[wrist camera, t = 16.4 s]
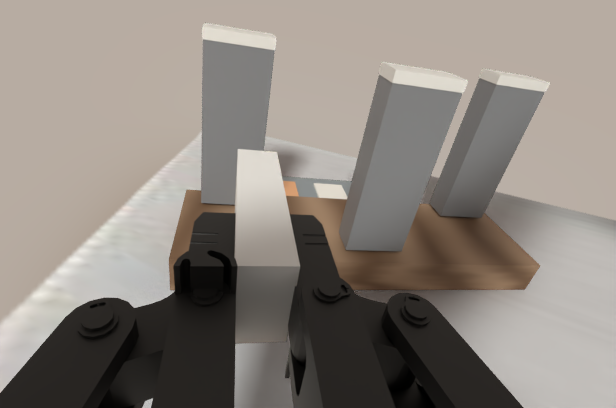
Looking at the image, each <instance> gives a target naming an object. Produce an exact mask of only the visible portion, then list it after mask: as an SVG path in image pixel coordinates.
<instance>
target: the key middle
mask: <svg viewBox="0 0 616 408" xmlns="http://www.w3.org/2000/svg"><path fill="white" fill-rule="evenodd" d="M467 83H468V80H466V79H463V78H461V77H459V76H456V75H454V74H452V73H449V72H445V71H438V70H432V69H426V68H419V67H413V66H406V65H400V64H394V63H388V62H381V66H380V70H379V78H378V81H377V85H376V89H375V93H374V97H373V101H372V105H371V109H370V113H369V117H368V121H367V124H366V128H365V132H364V136H363V140H362V143H361V147H360V151H359V155H358V159H357V163H356V167H355V171H354V174H353V178H352V182H351V186H350V190H349V194H348V198H347V202H346V205H345V209H344V213H343V217H342V221H341V225H340V229H339V234H340V237H341V239H342V242H343V244H344V247H345V249H346V250H364V251H402V249H403V246H404V244H405V241H406V239H407V236H408V233H409V231H410V228H411V226H412V223H413V220H414V218H415V215H416V213H417V210H418V207H419V205H420V202H421V200H422V197H423V194H424V192H425V189H426V187H427V184H428V181H429V179H430V176H431V174H432V171H433V168H434V166H435V163H436V160H437V158H438V155H439V152H440V150H441V148H442V145H443V142H444V140H445V137H446V135H447V132H448V129H449V126H450V124H451V121H452V119H453V116H454V114H455V111H456V109H457V106H458V103H459V101H460V98H461V96H462V93H464V91H465V88H466V85H467Z"/></svg>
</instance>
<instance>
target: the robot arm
mask: <svg viewBox="0 0 616 408" xmlns="http://www.w3.org/2000/svg"><path fill="white" fill-rule="evenodd" d="M328 244H329V243H328V240H327V237H326V234H325V231H324V228H323V225H322V224H321V223H320V221H319V220H318V219H317V218H316V217H315V216H314V215H297V214H289V209H288V204H287V199H286V194H285V189H284V184H283V179H282V174H281V169H280V164H279V160H278V155H277V152H271V151H258V150H245V149H238V156H237V176H236V195H235V213H217V212H203V213H202V214H201V215H200V216H199V217H198V218H197V219H196V220H195V221H194V225H193V230H192V235H191V240H190V246H189V251H187V252H185V253H184V254H183V255H181V256H180V257H179V258H178V259H177V260H176V262H175V264H174V266H173V269H174V285H175V292H174V293H172V294H171V295H170V296H169V297H167V298H165V299H163V300H161V301H158V302H155V303H153V304H149V305H145V306H141V307H137V308H133V307H132V306H131V305H130V304H129V302H127V301H124V300H121V299H119V298H101V299H97V300H93V301H89V302H87V303H85V304H83V305H81V306H79V307H77V308H76V309H74V310H73V311H72V312H71V313H70V314H69V315H68V316H66V317H65V318H64V320H63V321H62V322H61V323H60V324H59V325H58V327H57V328H56V329H55V330H54V331H53V332H52V334H51V335H50V336H49V337H48V338H47V339H46V341H45V342H44V343H43V344H42V345H41V346H40V348H39V349H38V350H37V351H36V352H35V353H34V355H33V356H32V357H31V358H30V359H29V360H28V362H27V363H26V364H25V365H24V366H23V367H22V368H21V370H20V371H19V372H18V373H17V374H16V375H15V377H14V378H13V379H12V380H11V381H10V382H9V384H8V385H7V386H6V387H5V388H4V389H3V391H2V392H1V393H0V408H142V406H143V404H144V402H145V401H146V400H149V399H151V398H153V402H152V406H151V408H234V385H235V344H241V343H266V342H286V341H287V336H288V331H289V338H290V350H289V356H288V361H287V366H286V372H285V378H289V376H290V379H291V388H292V396H293V405H294V408H523V407H522V405H521V404H520V403H519V402H518V401H517V400H516V399H515V397H514V396H513V395H512V394H511V393H510V392H509V391H508V389H507V388H506V387H505V386H504V385H503V384H502V383H501V382H500V380H499V379H498V378H497V377H496V376H495V375H494V374H493V372H492V371H491V370H490V369H489V368H488V367H487V366H486V364H485V363H484V362H483V361H482V360H481V359H480V358H479V356H478V355H477V354H476V353H475V352H474V351H473V350H472V348H471V347H470V346H469V345H468V344H467V343H466V342H465V340H464V339H463V338H462V337H461V336H460V335H459V334H458V332H457V331H456V330H455V329H454V328H453V327H452V326H451V324H450V323H449V322H448V321H447V320H446V319H445V318H444V317H443V315H442V314H441V313H440V312H439V311H438V310H437V309H436V308H435V307H434V306H433V305H432V304H431V303H430V302H429V301H427V300H425V299H424V298H422V297H420V296H418V295H414V294H410V293H399V294H396V295H394V296H392V297H391V298H390V300H389V301H388V303H387V304H385V303H381V302H377V301H373V300H369V299H366V298H363V297H360V296H358V295H356V294H355V293H354V291H353V289H352V288H351V286H350V285H349V284H348V283H347V282H346V281H344V280H343V279H342V278H340V277H339V273H338V270H337V267H336V264H335V261H334V258H333V255H332V252H331V249H330V246H329V245H328Z"/></svg>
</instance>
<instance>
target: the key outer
mask: <svg viewBox="0 0 616 408" xmlns="http://www.w3.org/2000/svg"><path fill="white" fill-rule="evenodd" d="M202 39H203V81H202V172H201V203H211V204H230V205H235V195H236V176H237V156H238V149H245V150H258V151H264V143H265V134H266V125H267V116H268V106H269V97H270V88H271V78H272V69H273V60H274V51H275V49H276V40H277V38H276V37H275V35H274V34H270V33H265V32H258V31H253V30H246V29H240V28H234V27H228V26H222V25H216V24H210V23H205V24H204V25H203V26H202Z"/></svg>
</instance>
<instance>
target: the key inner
mask: <svg viewBox="0 0 616 408" xmlns="http://www.w3.org/2000/svg"><path fill="white" fill-rule="evenodd" d="M549 85H550V83H549V82H546V81H543V80H540V79H537V78H534V77H531V76H525V75H519V74H514V73H507V72H501V71H495V70H489V69H482V71H481V73H480V76H479V81H478V83H477V86H476V88H475V91H474V93H473V96H472V98H471V101H470V103H469V106H468V108H467V111H466V113H465V116H464V118H463V121H462V123H461V126H460V128H459V131H458V133H457V136H456V138H455V141H454V143H453V146H452V148H451V151H450V153H449V156H448V158H447V161H446V163H445V166H444V168H443V171H442V173H441V176H440V178H439V180H438V183H437V185H436V188H435V190H434V193H433V195H432V198H431V200H430V204H431V205H432V207H433V208H434V209H435V210H436V211H437V212H438V214H439V215H440V216H456V217H475V218H482V216H483V214H484V212H485V210H486V208H487V206H488V204H489V202H490V200H491V198H492V196H493V194H494V192H495V190H496V188H497V186H498V184H499V182H500V180H501V178H502V176H503V174H504V172H505V170H506V168H507V166H508V164H509V162H510V160H511V158H512V156H513V154H514V152H515V150H516V148H517V146H518V144H519V142H520V140H521V138H522V136H523V134H524V132H525V130H526V129H527V127H528V124H529V122H530V121H531V118H532V117H533V115H534V113H535V111H536V109H537V107H538V105H539V103H540V101H541V99H542V97H543V95H544V93H545V92H546V91H547V89H548V87H549Z"/></svg>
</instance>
